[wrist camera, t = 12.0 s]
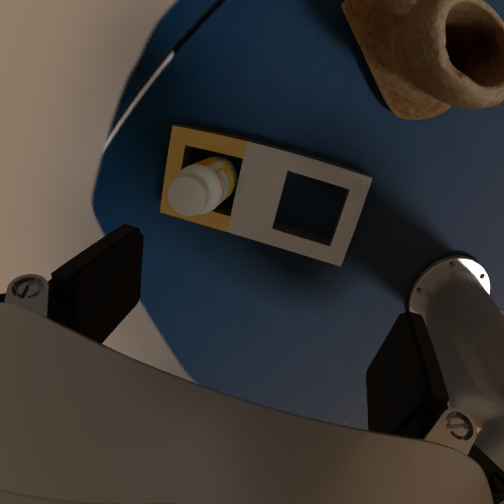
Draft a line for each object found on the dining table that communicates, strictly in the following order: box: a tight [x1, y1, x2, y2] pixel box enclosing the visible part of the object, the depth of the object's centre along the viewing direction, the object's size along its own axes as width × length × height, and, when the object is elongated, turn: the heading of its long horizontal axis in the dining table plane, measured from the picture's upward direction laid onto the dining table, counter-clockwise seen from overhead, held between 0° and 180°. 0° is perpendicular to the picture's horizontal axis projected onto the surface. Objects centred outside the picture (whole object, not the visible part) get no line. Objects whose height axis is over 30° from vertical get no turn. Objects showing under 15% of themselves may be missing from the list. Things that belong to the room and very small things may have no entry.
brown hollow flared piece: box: [341, 0, 504, 120], centre depth 21 cm, size 15×12×15 cm
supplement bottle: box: [168, 157, 238, 216], centre depth 35 cm, size 5×5×10 cm
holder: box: [160, 124, 372, 267], centre depth 37 cm, size 23×11×3 cm, turn 77°
